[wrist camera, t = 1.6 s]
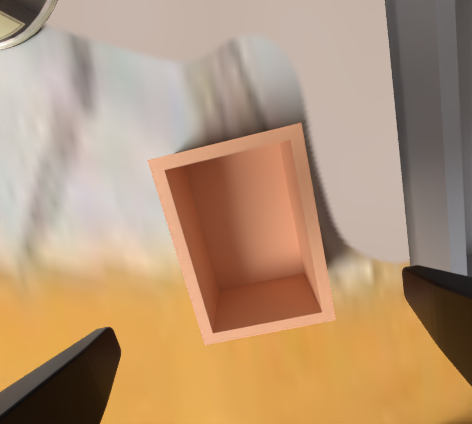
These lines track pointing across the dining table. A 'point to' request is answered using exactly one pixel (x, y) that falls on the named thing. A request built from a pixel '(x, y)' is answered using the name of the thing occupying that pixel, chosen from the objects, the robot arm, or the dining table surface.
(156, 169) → the small crate
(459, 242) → the big crate
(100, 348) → the robot arm
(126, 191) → the dining table surface
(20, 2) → the coffee can
